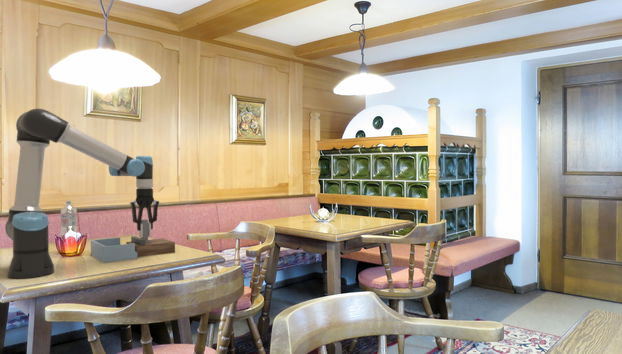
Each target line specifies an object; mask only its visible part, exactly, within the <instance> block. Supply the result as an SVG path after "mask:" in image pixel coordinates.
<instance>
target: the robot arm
mask: <svg viewBox="0 0 622 354" xmlns="http://www.w3.org/2000/svg"><path fill="white" fill-rule="evenodd" d="M15 127H16V131H17V133H16V143H17V144H18V145H19V146H20V147H19V156H18V157H19V158H18V167H17V174H16V175H17V176H16V184H15V185H16V186H15V196H14V203H13V205H12V206H11V207H10V208H9V210H8V218H7V221H6V222H5V234H6V235H7V236H8V238H9V239H11V240H12V258H11V261H10V264H9V265H8V269H7V277H8V278H10V279H30V278H39V277H43V276H49V275H50V274H53V273H55V265H54V263H53V262H54V261H53V260H52V258H51V255H50V251H49V248H50V247H49V242H50V241H49V224H50V223H49V222H50V221H49V216H48V214H46V213H44V210H43V209H42V208H41V207H40V199H41V191H42V190H41V189H42V182H43V181H42V179H43V170H44V169H43V168H44V162H45V161H44V159H45V150H46V148H47V147H49V146H50V142H53V143H55V144H58V143H61V144H63V145H65V146H67V147H69V148H71V149H74V151H75V150H76V151H77V152H80V153H82V154H84V155H86V156H88V157H90V158H93V159H94V160H97V161H98V162H101V163H102V164H105V165H107V166H108V173H109V175H110V176H112V177H133V178H135V179H136V180H135V181H136V183H135V185H136V192H135V193H136V194H135V195H136V197H135V200H134V201H130V202H129V204H130V207H131V215H132V222H133V223H135V224H136V229H137V231H138V233H139V235H138V237H139V238H142V237H143V224H141V220H143V211H144V209H146V213H147V217H148V218H147V220H148V238H150V237H152V230H153V229H154V223H155V222H157V220H158V207H159V204H160V201H159V200H156V199H155V198H154V189H153V187H154V186H153V185H154V179H153V177H154V176H153V172H154V171H153V169H154V168H153V167H154V163H153V157H152V156H151V155H137V156H135V158H133V157H132V156H130V155H127V154H126V153H123V152H122V151H119V150H118V149H116V148H114V147H112V146H111V145H109V144H106V143H104V142H102V141H100V140H98V139H96V138H94V137H92V136H90V135H88V134H86V133H85V132H83V131H80V130H79V129H77V128H75V127H73V126H71V124H70V122H69V121H67V120H65V119H63V118H62V117H59V116H57V115H56V114H55V113H52V112H51V111H49V110H46V109H43V108H33V109H29V110H28V111H26V112H24V113H22V114H21V115H19V116H18V118H17V120H16V126H15ZM152 204H153V209H152ZM137 205H138V212H137V208H136V207H137Z"/></svg>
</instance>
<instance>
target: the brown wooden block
mask: <svg viewBox="0 0 622 354" xmlns="http://www.w3.org/2000/svg"><path fill="white" fill-rule="evenodd" d="M148 240H149V241H151V243H147V244H145V245H143V246H140V245H138V244H136V243H135V251H136V252H137V258H141V257H142V258H143V257H150V256H157V255H168V254H174V253H176V242H175V241H173V240H170V239H169V240H168V239H166V238H153V239H148ZM125 244H133V242H131V241H126V243H125Z"/></svg>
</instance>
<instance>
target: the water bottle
mask: <svg viewBox="0 0 622 354" xmlns="http://www.w3.org/2000/svg"><path fill="white" fill-rule="evenodd" d="M71 203H72V202H71V201H70V200H69V201H66V204H65V205H64V206H63V207H62V208H61V210H60V236H61V235H63V234H66V233H67V232H68V231H69V230H72V231H74V232H77V233H78V225H77V224H78V222H77V221H78V220H77V217H78V216H77V212H78V210H77V208H76V207H75V206H74V205H73V204H71Z"/></svg>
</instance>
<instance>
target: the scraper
mask: <svg viewBox="0 0 622 354" xmlns="http://www.w3.org/2000/svg"><path fill="white" fill-rule="evenodd" d="M148 223H149V219H141V224H143V237H142V238H141V237H139V236H134V235H133V236H130V242H133V243H136V244H138V245H140V246H143V245H145V244H147V243H151V241H149V240H150V239H149V236H148Z"/></svg>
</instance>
